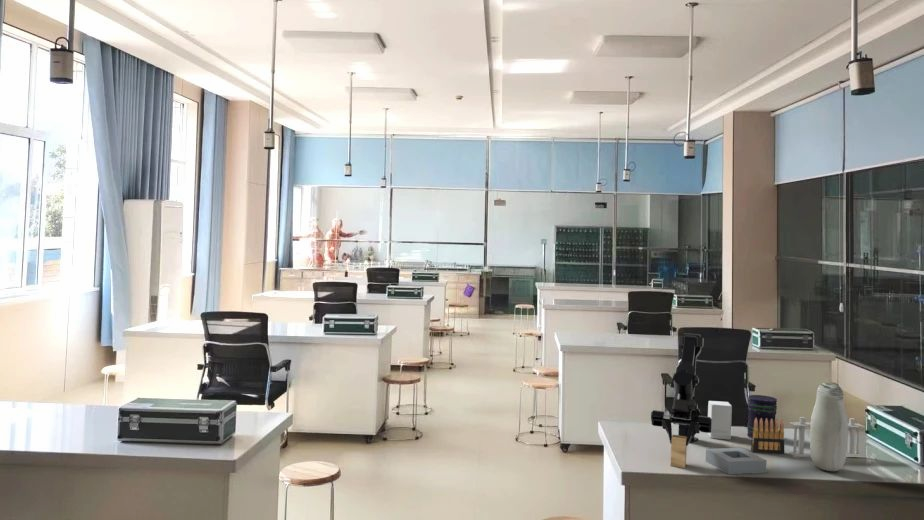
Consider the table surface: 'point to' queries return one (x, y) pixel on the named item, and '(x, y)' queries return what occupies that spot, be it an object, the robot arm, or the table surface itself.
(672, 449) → the peg
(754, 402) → the storage jar
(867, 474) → the table surface
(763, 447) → the ammunition clip
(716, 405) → the supplement box
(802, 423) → the test tube rack
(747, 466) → the socket
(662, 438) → the table surface
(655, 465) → the table surface
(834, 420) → the white bottle
